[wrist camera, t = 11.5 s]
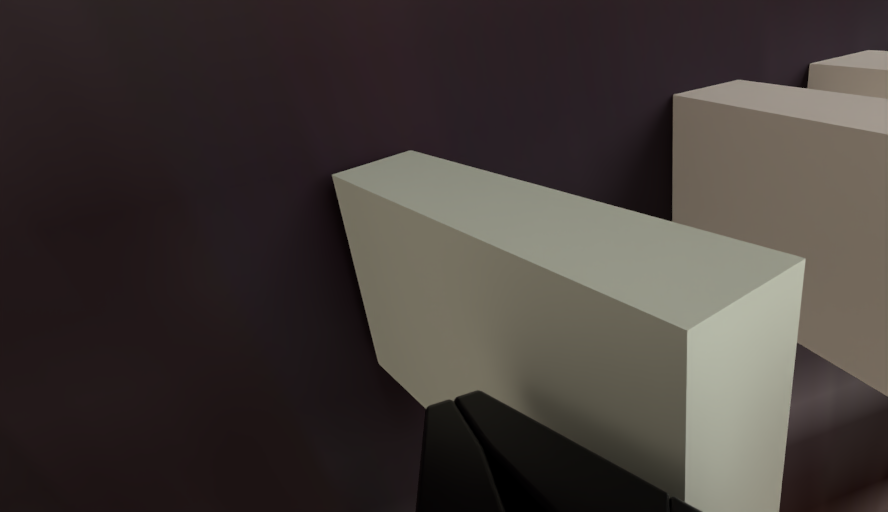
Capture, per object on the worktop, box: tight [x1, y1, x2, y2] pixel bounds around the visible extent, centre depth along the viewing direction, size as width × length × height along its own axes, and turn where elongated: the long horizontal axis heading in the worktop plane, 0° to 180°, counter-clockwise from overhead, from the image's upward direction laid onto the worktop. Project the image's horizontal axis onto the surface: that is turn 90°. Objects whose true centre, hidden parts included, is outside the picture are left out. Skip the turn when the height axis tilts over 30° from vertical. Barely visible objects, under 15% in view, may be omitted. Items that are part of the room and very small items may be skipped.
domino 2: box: [672, 80, 888, 396], centre depth 12 cm, size 2×5×9 cm, turn 9°
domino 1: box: [332, 150, 806, 512], centre depth 11 cm, size 2×5×9 cm, turn 10°
